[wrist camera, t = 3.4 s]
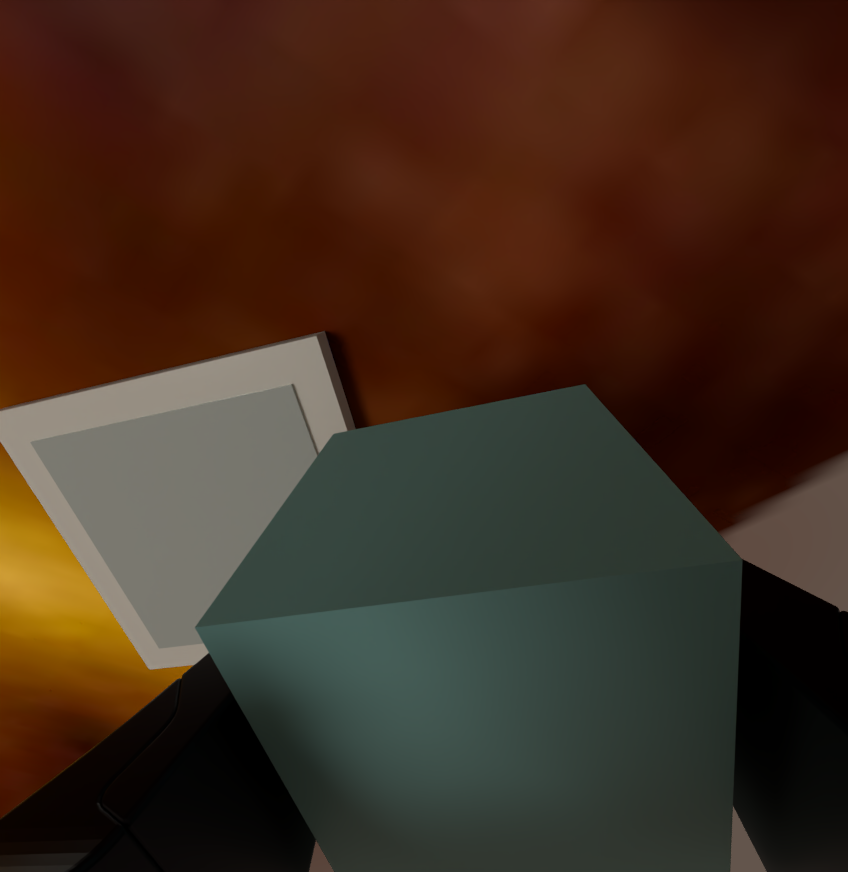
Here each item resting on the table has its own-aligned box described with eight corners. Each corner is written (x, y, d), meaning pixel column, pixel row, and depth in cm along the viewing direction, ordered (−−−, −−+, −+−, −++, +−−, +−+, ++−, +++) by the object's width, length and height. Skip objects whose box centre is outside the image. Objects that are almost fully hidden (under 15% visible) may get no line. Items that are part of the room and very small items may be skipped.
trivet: (324, 331, 13) (314, 336, 12) (418, 624, 18) (415, 643, 17) (6, 407, 15) (-20, 416, 14) (161, 653, 20) (147, 671, 19)
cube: (584, 384, 8) (743, 559, 3) (606, 591, 10) (730, 888, 5) (333, 433, 9) (194, 627, 4) (395, 617, 11) (344, 890, 6)
